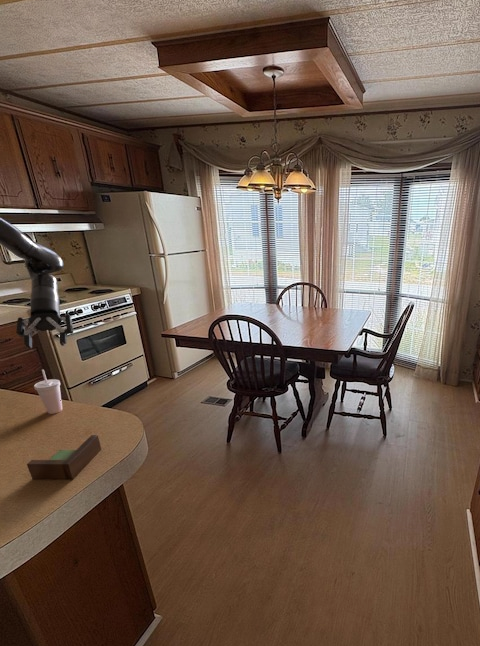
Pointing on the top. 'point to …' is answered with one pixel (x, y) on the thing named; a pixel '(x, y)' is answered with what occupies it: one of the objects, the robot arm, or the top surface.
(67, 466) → the corner guide
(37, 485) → the top surface
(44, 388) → the smoothie
